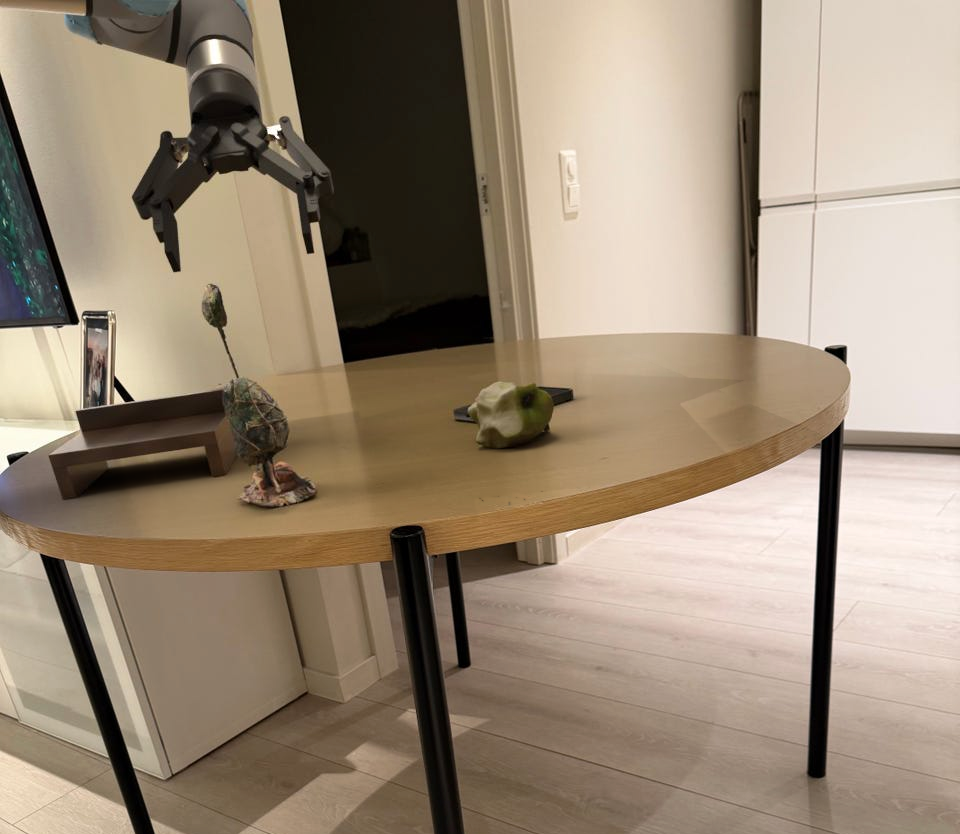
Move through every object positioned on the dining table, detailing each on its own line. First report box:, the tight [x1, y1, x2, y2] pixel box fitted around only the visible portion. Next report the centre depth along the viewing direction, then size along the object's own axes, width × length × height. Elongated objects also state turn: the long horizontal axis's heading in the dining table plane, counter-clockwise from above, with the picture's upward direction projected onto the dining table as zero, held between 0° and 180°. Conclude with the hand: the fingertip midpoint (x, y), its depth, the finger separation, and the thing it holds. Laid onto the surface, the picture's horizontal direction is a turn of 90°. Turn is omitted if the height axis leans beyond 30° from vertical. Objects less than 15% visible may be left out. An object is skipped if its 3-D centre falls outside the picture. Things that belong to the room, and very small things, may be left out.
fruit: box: [468, 380, 555, 449], centre depth 96 cm, size 9×9×8 cm
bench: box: [48, 387, 238, 500], centre depth 104 cm, size 18×14×8 cm
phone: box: [452, 386, 575, 423], centre depth 113 cm, size 8×1×15 cm
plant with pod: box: [200, 283, 317, 508], centre depth 83 cm, size 8×11×20 cm
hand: (241, 253), depth 89 cm, fingers open, 13 cm apart
